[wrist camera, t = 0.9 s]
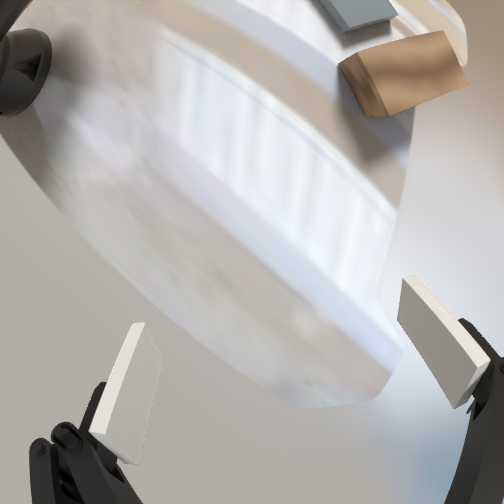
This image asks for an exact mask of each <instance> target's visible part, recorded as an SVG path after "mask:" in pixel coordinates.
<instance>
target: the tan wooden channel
mask: <svg viewBox="0 0 504 504" xmlns="http://www.w3.org/2000/svg"><path fill="white" fill-rule="evenodd" d="M338 65H339V67H340V68H341V70H342V72H343V74H344V75H345V77H346V79H347V81H348V83H349V85H350V86H351V88H352V90H353V92H354V94H355V96H356V98H357V100H358V102H359V104H360V106H361V108H362V110H363V112H364V114H365V116H366V118H369V117H390V116H393V115H395V114H397V113H400V112H402V111H404V110H407V109H409V108H411V107H414V106H416V105H418V104H421V103H423V102H426V101H428V100H431V99H433V98H435V97H438V96H441V95H443V94H445V93H448V92H451V91H453V90H456V89H459V88H461V87H464V86H467V85H468V83H467V81H466V78H465V76H464V73H463V71H462V69H461V66H460V64H459V62H458V59H457V57H456V55H455V53H454V51H453V49H452V47H451V45H450V43H449V41H448V39H447V37H446V35H445V33H444V31H437V32H432V33H427V34H422V35H417V36H413V37H408V38H404V39H400V40H396V41H393V42H389V43H385V44H382V45H378V46H375V47H372V48H368V49H365V50H362V51H359V52H357V53H355V54H353V55H351V56H350V57H348V58H347V59H345V60H343V61H342V62H340V63H338Z"/></svg>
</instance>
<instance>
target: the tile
mask: <svg viewBox="0 0 504 504" xmlns="http://www.w3.org/2000/svg"><path fill="white" fill-rule="evenodd" d="M319 1H320V3H321V4H322V5H323V7H324V8H325V9H326V11H327V12H328V13H329V15H330V16H331V17H332V19H333V20H334V22H335V23H336V24H337V26H338V27H339V29H340V30H341V32H342V33H346V32H349V31H352V30H356V29H359V28H362V27H366V26H369V25H373V24H376V23H380V22H384V21H388V20H391V19H392V18H394V17H396V16H397V15H398V13H397V12H396V10H395V9H394V7H393V6H392V4H391V3H390V2H389V0H319Z"/></svg>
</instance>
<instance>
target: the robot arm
mask: <svg viewBox="0 0 504 504" xmlns="http://www.w3.org/2000/svg"><path fill="white" fill-rule="evenodd" d="M32 1H33V0H0V116H11V115H15V114H18V113H20V112H21V111H23V110H24V109H25V108H27V107H28V106H29V105H30V104H31V102H32V101H33V100H34V99H35V97H36V96H37V94H38V93H39V91H40V89H41V88H42V86H43V84H44V81H45V79H46V76H47V74H48V71H49V67H50V63H51V55H52V48H51V42H50V40H49V38H48V36H47V35H46V34H45V33H43V32H41V31H38V30H35V29H24V30H18V31H12V32H8V31H9V29H10V28H11V27H12V25H13V24H14V23H15V21H16V20H17V19H18V18H19V16H20V15H21V14H22V12H23V11H24V10H25V9H26V8H27V6H28V5H29V4H30V3H31V2H32ZM397 321H398V322H399V323H400V325H401V326H402V328H403V329H404V331H405V332H406V334H407V335H408V337H409V338H410V340H411V341H412V343H413V344H414V345H415V347H416V349H417V350H418V351H419V353H420V355H421V356H422V358H423V359H424V361H425V362H426V364H427V366H428V367H429V369H430V370H431V372H432V374H433V375H434V377H435V378H436V380H437V381H438V383H439V385H440V387H441V388H442V390H443V392H444V393H445V395H446V397H447V398H448V400H449V402H450V404H451V405H452V407H453V409H455V408H457V407H459V406H461V405H463V404H465V403H466V402H467V401H468V399H469V398H470V396H471V395H473V397H474V398H475V399H474V401H473V402H472V404H471V405H470V407H469V408H468V410H467V414H468V413H469V412H470V410H471V409H472V410H471V415H470V420H469V425H468V430H467V434H466V438H465V442H464V446H463V450H462V453H461V457H460V461H459V464H458V467H457V470H456V473H455V476H454V479H453V482H452V485H451V487H450V490H449V493H448V495H447V498H446V500H445V502H444V504H502V501H503V497H504V357H502V358H501V357H500V356H499V355H498V354H497V353H496V351H495V350H494V349H493V348H492V347H491V345H490V344H489V343H488V342H487V341H486V339H485V338H484V337H482V335H481V334H480V333H479V332H478V331H477V329H476V328H475V327H474V326H473V325H472V324H471V323H470V322H468V321H467V320H465V319H463V318H461V319H459V320H457V319H456V318H455V317H454V316H453V315H452V314H451V312H450V311H449V310H448V309H447V308H446V307H445V306H444V305H443V304H442V303H441V302H440V300H439V299H438V298H437V297H436V296H435V295H434V294H433V293H432V292H431V291H430V290H429V289H428V288H427V287H426V286H425V285H424V284H423V283H422V282H421V281H420V280H419V279H418V278H417V277H416V276H415V275H412V276H408V277H404V278H403V280H402V289H401V296H400V303H399V311H398V316H397ZM163 361H164V360H163V358H162V356H161V354H160V352H159V350H158V348H157V346H156V344H155V342H154V340H153V338H152V335H151V333H150V331H149V329H148V327H147V325H146V323H145V322H144V323H134V324H132V326H131V328H130V330H129V333H128V335H127V337H126V339H125V342H124V344H123V346H122V348H121V350H120V353H119V355H118V357H117V360H116V362H115V364H114V367H113V369H112V372H111V374H110V377H109V379H108V382H101V383H100V384H99V385H98V386H97V387H96V388H95V390H94V392H93V395H92V397H91V400H90V402H89V404H88V407H87V409H86V412H85V415H84V417H83V420H82V423H81V425H80V428H79V430H78V429H77V428H76V427H75V426H74V425H73V424H71V423H70V422H62V423H59V424H58V425H57V426H55V428H54V429H53V431H52V434H51V441H52V442H53V443H54V444H51V443H50V442H49V441H47V440H46V439H44V438H38V439H36V440H35V441H34V442H33V443H32V444H31V446H30V451H29V462H30V463H29V464H30V484H31V495H32V504H143V503H142V502H141V500H140V499H139V497H138V496H137V495H136V493H135V492H134V490H133V488H132V487H131V485H130V484H129V482H128V480H127V479H126V477H125V476H124V474H123V472H122V470H121V469H120V467H119V466H118V465H117V463H116V462H117V458H119V459H120V460H121V461H123V462H124V463H126V464H134V465H140V461H141V456H142V451H143V446H144V442H145V437H146V432H147V428H148V423H149V419H150V414H151V410H152V406H153V401H154V397H155V393H156V389H157V385H158V380H159V377H160V373H161V369H162V365H163Z"/></svg>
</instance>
